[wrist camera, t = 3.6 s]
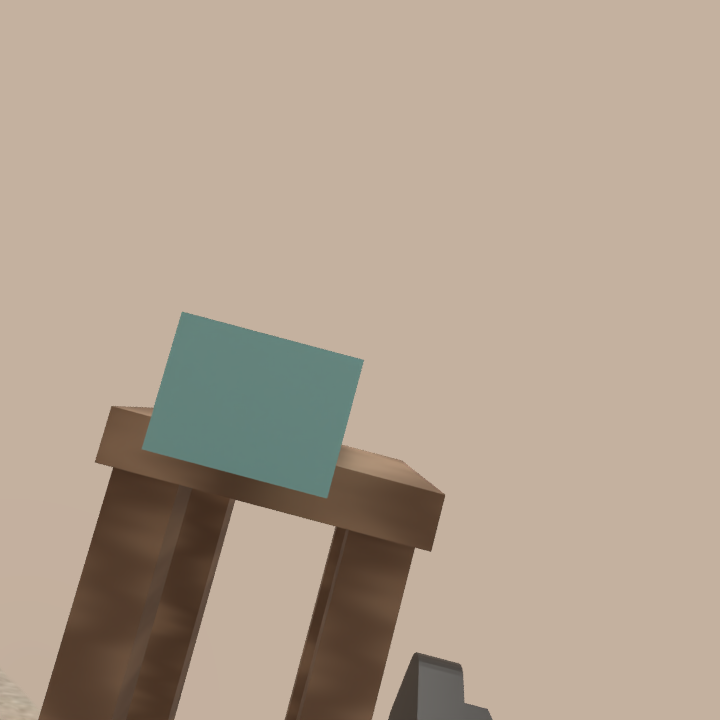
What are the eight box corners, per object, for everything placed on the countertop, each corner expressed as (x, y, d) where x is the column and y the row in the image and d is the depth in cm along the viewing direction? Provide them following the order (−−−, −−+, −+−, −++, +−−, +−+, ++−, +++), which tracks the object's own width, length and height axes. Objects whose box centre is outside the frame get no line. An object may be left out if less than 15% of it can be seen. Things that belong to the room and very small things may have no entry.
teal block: (141, 449, 13) (182, 311, 14) (271, 427, 37) (285, 377, 38) (327, 498, 13) (363, 360, 14) (338, 445, 37) (351, 395, 38)
